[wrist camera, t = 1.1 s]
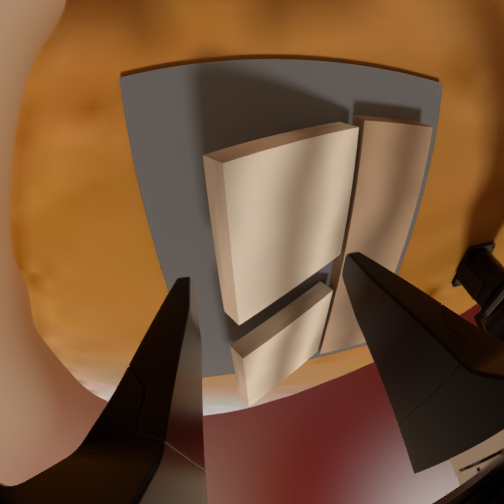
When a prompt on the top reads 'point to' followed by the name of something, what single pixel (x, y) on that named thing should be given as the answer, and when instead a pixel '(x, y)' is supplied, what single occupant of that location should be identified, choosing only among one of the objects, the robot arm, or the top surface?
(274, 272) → the light beige plank
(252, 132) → the underlay
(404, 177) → the light brown plank
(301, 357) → the beige flat square block
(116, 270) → the top surface
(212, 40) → the top surface
